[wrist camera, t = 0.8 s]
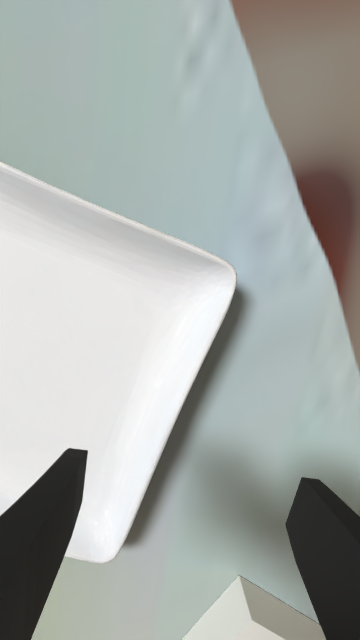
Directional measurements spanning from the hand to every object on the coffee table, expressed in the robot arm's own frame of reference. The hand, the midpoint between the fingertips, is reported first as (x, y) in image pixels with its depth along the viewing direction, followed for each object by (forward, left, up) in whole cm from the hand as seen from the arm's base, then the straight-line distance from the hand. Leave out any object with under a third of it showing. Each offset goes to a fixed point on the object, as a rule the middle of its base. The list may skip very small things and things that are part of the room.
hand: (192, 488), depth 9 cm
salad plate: (-5, +9, -11) cm, 15 cm away
